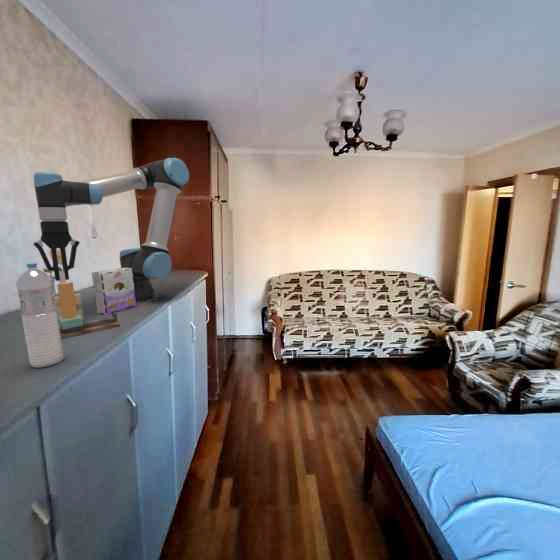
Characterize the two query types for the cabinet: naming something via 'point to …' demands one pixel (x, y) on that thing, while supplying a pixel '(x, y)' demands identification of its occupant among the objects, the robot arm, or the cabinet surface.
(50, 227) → the robot arm
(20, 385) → the cabinet surface
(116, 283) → the candy box
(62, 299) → the block
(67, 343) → the cabinet surface
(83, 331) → the rail board
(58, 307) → the tan hollow wooden box
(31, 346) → the water bottle
